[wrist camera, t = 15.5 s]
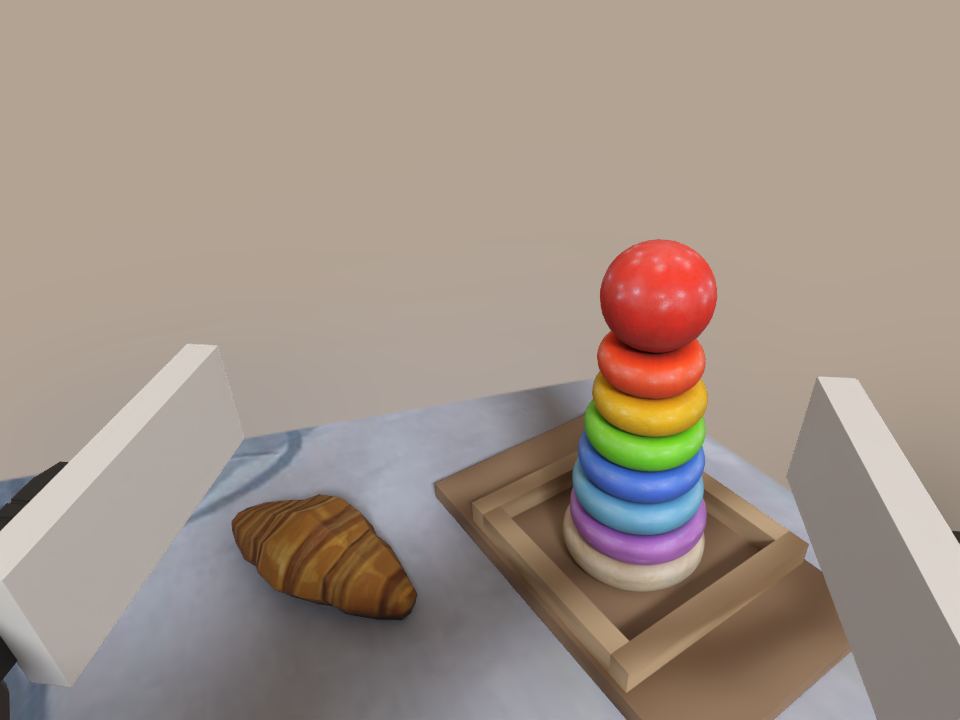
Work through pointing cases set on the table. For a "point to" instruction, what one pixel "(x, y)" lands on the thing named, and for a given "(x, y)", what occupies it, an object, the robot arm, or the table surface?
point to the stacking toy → (645, 424)
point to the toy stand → (658, 594)
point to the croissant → (325, 556)
